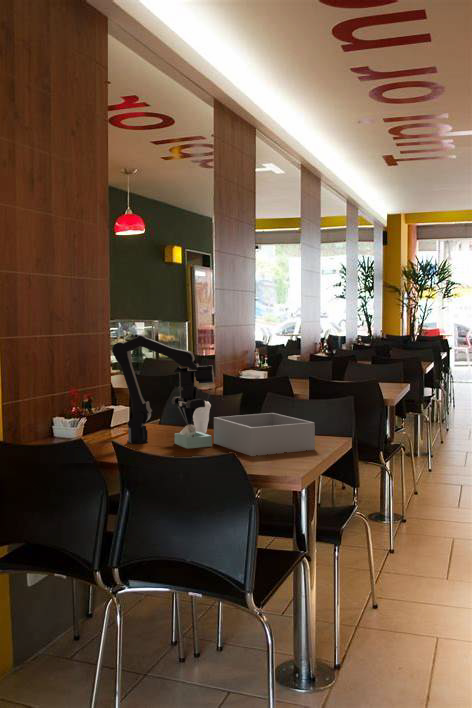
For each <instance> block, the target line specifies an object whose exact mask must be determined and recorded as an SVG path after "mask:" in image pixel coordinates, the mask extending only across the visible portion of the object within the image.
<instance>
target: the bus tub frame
mask: <svg viewBox="0 0 472 708" xmlns="http://www.w3.org/2000/svg"><path fill="white" fill-rule="evenodd" d="M315 428H316V425H315V422H314V421H309V420H305V419H301V418H297V417H292V416H287V415H283V414H281V413H280V414H279V413H275V412H269V413H253V414H243V415H242V414H241V415H240V414H239V415H231V416H230V415H228V416H217V417H215V416H214V417H213V444H215V445H217V446H221V447H224V448H226V449H229V450H233V451H235V452H238V453H242V454H244V455H247V456H250V457H255V456H256V455H258V456H266V455H267V454H268V455H276V453H277V454H285V453H284V452H287V453H295V452H303V451H306V450H307V451H315V449H316V448H315V447H316V446H315V444H316V442H315V441H316V439H315V437H316V435H315V433H316V432H315ZM307 451H306V452H307Z"/></svg>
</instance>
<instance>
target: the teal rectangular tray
mask: <svg viewBox="0 0 472 708" xmlns="http://www.w3.org/2000/svg"><path fill="white" fill-rule="evenodd" d="M212 437H213V436H212V435H210V434H208V433H202V432H199V431H198V432H195V434H194V435H193V436H192V437H188V436H185V435H183V434H180V432H177V433H174V444H175V445H177V446H179V447H182V448H184V449H195V448H196V449H197V448H208V447H213V445H212V444H213V443H212V441H213V438H212Z"/></svg>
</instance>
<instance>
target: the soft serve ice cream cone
mask: <svg viewBox="0 0 472 708" xmlns="http://www.w3.org/2000/svg"><path fill="white" fill-rule="evenodd" d="M211 407H212V404H211V403H210V402H209V401H208V402H206V401H205V407H199V408H197V409H196V410H195V411H194V414H193V418H192V421H193V425H194V426H195V428H196V429H195V430H196V432H198V431H199V432H202V433H205V434H207V430H208V424H209V421H210V409H211Z"/></svg>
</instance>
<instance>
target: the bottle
mask: <svg viewBox="0 0 472 708" xmlns="http://www.w3.org/2000/svg"><path fill="white" fill-rule="evenodd" d="M195 429H196V428H195V426H194V424H191V425H187V424H186V425H185V426H184V427H183V429H182V430H180V432H179V433H180V434H183V435H185V436H188V437H194V434H195V432H196V430H195Z"/></svg>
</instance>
